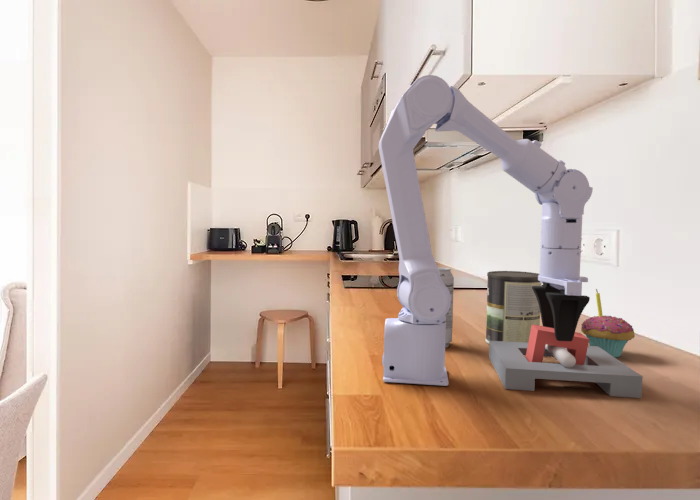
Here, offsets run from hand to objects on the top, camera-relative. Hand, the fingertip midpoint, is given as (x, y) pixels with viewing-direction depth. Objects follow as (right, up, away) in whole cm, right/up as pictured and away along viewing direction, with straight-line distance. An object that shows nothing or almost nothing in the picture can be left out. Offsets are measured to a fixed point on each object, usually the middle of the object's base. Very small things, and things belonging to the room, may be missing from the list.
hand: (556, 334), depth 72 cm
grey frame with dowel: (0, -6, 0) cm, 6 cm away
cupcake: (+15, -6, +13) cm, 21 cm away
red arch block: (-1, -5, 0) cm, 5 cm away
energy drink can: (-16, -5, +18) cm, 24 cm away
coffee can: (0, -6, +20) cm, 20 cm away
